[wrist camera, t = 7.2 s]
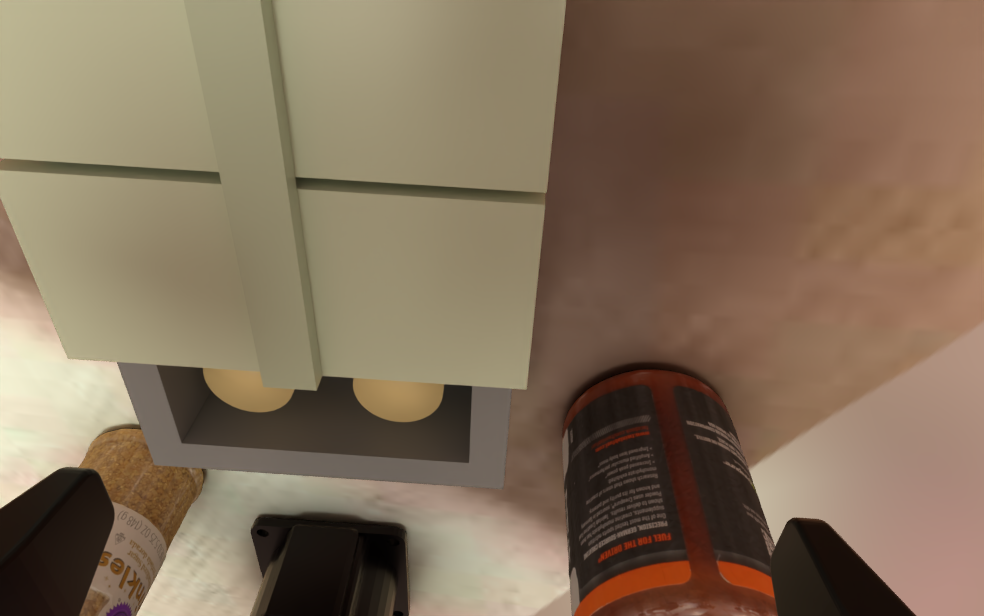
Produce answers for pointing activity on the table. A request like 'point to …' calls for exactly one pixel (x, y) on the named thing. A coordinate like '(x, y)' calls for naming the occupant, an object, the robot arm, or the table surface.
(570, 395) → the table surface
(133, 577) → the sprinkles bottle
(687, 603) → the supplement bottle
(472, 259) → the lid
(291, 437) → the tub
